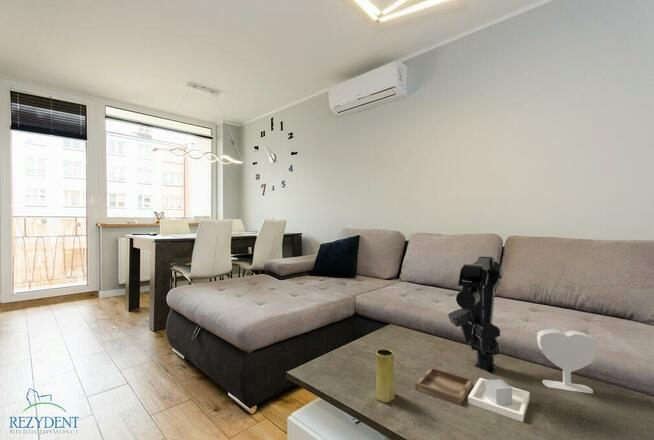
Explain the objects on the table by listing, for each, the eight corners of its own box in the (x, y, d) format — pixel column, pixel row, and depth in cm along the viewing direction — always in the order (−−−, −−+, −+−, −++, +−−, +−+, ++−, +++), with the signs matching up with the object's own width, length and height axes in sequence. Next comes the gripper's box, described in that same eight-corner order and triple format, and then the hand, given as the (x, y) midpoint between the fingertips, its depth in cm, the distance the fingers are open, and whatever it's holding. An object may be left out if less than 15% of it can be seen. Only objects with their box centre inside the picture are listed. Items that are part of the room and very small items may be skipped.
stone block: (486, 396, 95) (485, 380, 95) (501, 395, 96) (500, 379, 96) (496, 406, 90) (496, 389, 90) (512, 404, 91) (512, 387, 91)
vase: (395, 403, 93) (394, 357, 93) (375, 401, 94) (374, 355, 94) (395, 392, 99) (394, 348, 99) (376, 391, 100) (375, 347, 100)
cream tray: (479, 385, 103) (479, 377, 103) (529, 400, 94) (529, 392, 94) (468, 405, 92) (467, 396, 92) (522, 424, 83) (522, 415, 83)
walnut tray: (431, 373, 111) (431, 366, 111) (473, 386, 102) (472, 379, 102) (415, 391, 100) (415, 383, 100) (460, 407, 91) (460, 398, 91)
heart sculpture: (592, 386, 101) (591, 331, 101) (600, 394, 96) (598, 337, 96) (537, 378, 106) (536, 326, 106) (541, 386, 101) (540, 331, 101)
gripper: (438, 296, 112) (439, 338, 112) (466, 311, 94) (467, 362, 94) (467, 294, 113) (468, 336, 113) (500, 309, 95) (501, 359, 95)
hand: (475, 347), depth 104 cm, fingers open, 9 cm apart
